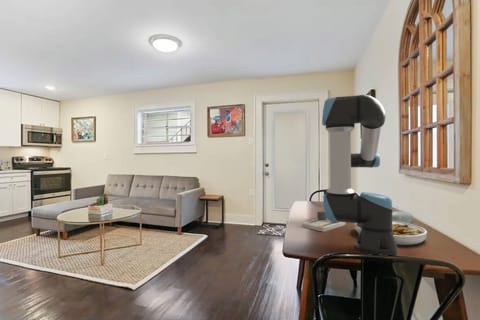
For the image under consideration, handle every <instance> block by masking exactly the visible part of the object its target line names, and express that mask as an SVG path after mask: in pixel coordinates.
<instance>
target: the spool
mask: <svg viewBox="0 0 480 320" xmlns="http://www.w3.org/2000/svg"><path fill="white" fill-rule="evenodd" d="M392 221H398V222H404V223H409V224H413V222H414V217H413V214H412V213H411V212H409V211H408V212H407V211H403V210H401V211H399V210H398V211H397V210H396V211H392Z"/></svg>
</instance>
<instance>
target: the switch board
mask: <svg viewBox="0 0 480 320" xmlns="http://www.w3.org/2000/svg"><path fill="white" fill-rule="evenodd" d="M346 224H347V222H337V223H336V222H331V221H329V220H328V219H324V220H321V219H318V218H316V219H312V220H309V221H304V222H301V227H302V228H306V229H310V230H313V231H318V232H322V233H325V232H329V231H331V230H334V229H337V228H340V227H343V226H346Z"/></svg>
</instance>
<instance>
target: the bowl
mask: <svg viewBox="0 0 480 320" xmlns="http://www.w3.org/2000/svg"><path fill="white" fill-rule="evenodd" d="M354 227H355V231H356V233H357V234H358V235H359V234H360V231H361V223H354ZM392 233H393V236H394V239H395V241H396V244H397V246H412V245H417V244H421V243H423V242H424V241H425V240H426V238H427V235H428V231H427V230H426V229H425V228H424V227H421V226H419V225H416V224H413V223H412V224H409V223H404V222H398V221H392Z"/></svg>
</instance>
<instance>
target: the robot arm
mask: <svg viewBox="0 0 480 320" xmlns="http://www.w3.org/2000/svg"><path fill="white" fill-rule="evenodd" d="M321 117H322V122H321V124H322V126H324V127H325V130H326V132H328V134H329V188H327V189H326V193H324V194H323V196H322V200H323V208H324V209H323V211H324V212H325V215H326V218H327V219H328V220H329V221H336V222H346V223H353V224H355V223H361V231H360V234H359V233H358V237H357V240H356V249H358V251H360V252H363V253H366V254H369V255H373V254H382V255H392V256H396V255H397V254H398V253H399V251H398V250H399V248H398V245H397V244H396V241H395V239H394V236H393V233H392V212H393V209H394V208H393V200H392V199H391V197H389V196H387V195H383V194H380V193H375V192H374V193H373V192H365V191H364V192H363V191H362V192H360V193H359V194H360V195H356V191H355V189H353V188H352V168H370V169H371V168H378V167H380V165H381V155H380V153H378V148H379V147H378V146H379V142H380V135H381V129H382V127H383V126H384V125H385V121H386V111H385V109H384V106H383V105H382V103H381V102H380V101H379V100H378V99H376V98H375V97H373V96H371V95H368V94H367V95H366V94H359V95H357V94H356V95H347V96H346V95H345V96H335V97H330V98H327V99H326V100H325V101H324V103H323V109H322V116H321ZM356 124H360V125H361V126H362V127H361V136H360V137H361V141H360V152H359V153H358V152H357V153H352V148H351V146H352V142H351V141H352V139H351V137H352V136H351V135H352V131H353V130H354V129H355V125H356Z"/></svg>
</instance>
